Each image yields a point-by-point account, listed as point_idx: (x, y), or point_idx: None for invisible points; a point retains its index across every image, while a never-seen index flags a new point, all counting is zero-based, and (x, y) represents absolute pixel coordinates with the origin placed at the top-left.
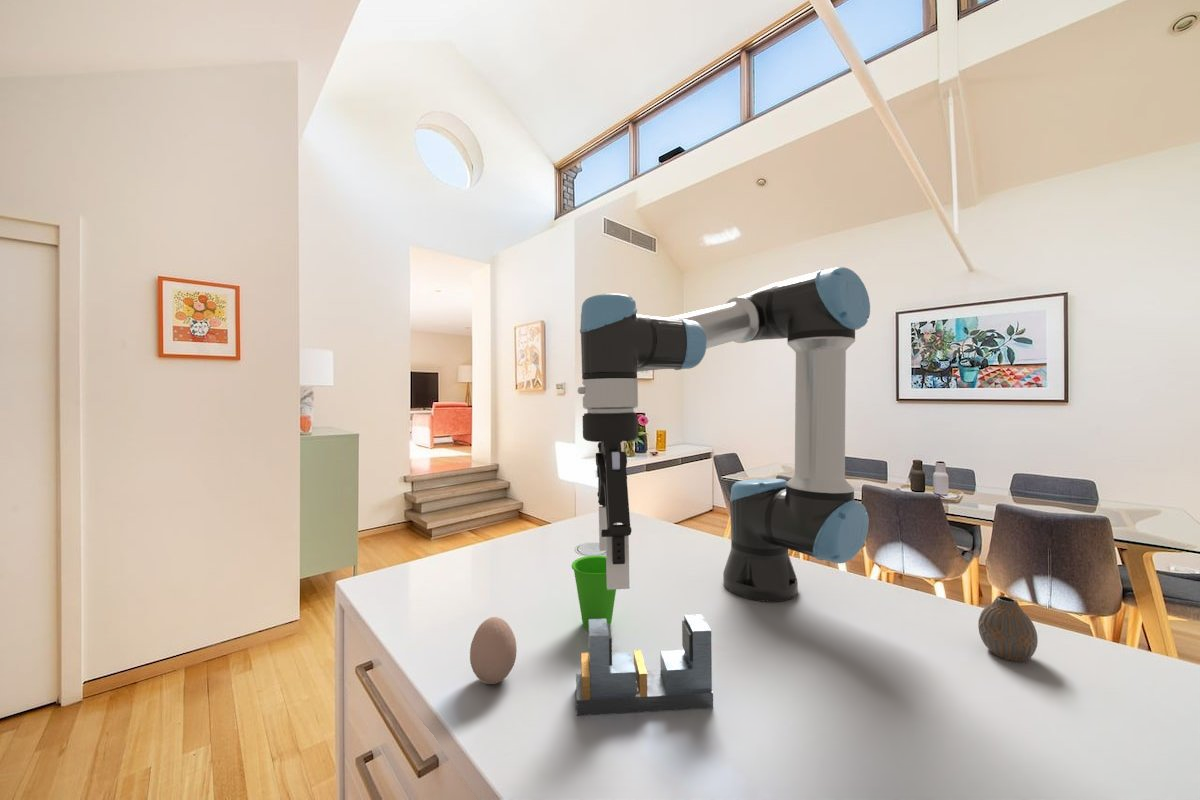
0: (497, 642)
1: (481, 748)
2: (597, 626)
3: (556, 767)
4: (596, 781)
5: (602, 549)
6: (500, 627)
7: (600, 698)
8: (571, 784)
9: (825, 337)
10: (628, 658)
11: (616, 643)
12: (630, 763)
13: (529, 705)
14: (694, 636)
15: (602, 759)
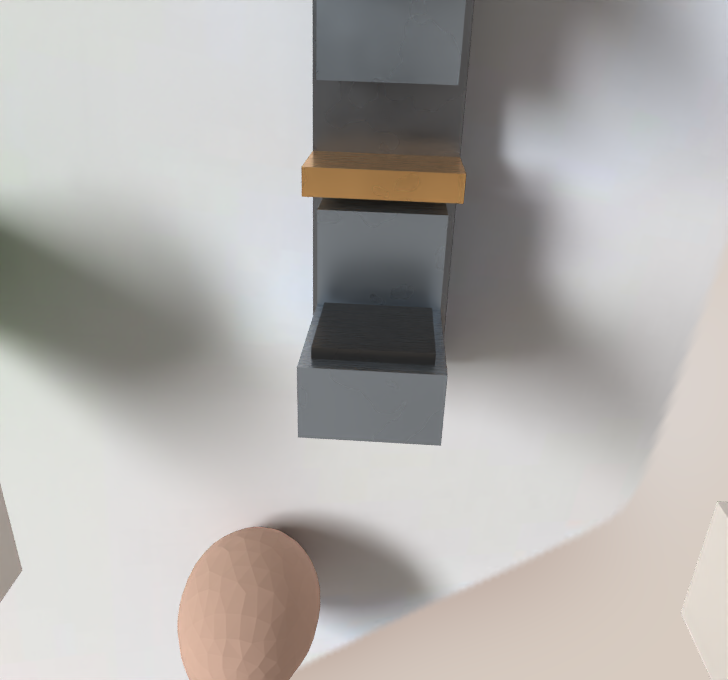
0: (294, 641)
1: (506, 549)
2: (367, 410)
3: (602, 408)
4: (670, 326)
5: (11, 561)
6: (256, 662)
7: (444, 309)
8: (661, 380)
9: None
10: (356, 227)
11: (57, 188)
12: (642, 237)
13: (377, 464)
14: None
15: (608, 305)
